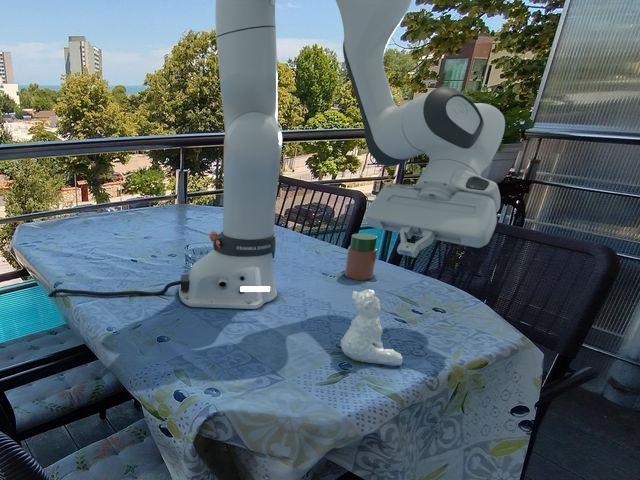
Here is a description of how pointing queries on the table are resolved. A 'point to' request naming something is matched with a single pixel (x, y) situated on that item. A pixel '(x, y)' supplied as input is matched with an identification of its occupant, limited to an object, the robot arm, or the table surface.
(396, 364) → the white creature statuette
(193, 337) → the table surface
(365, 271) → the brown jar green lid
